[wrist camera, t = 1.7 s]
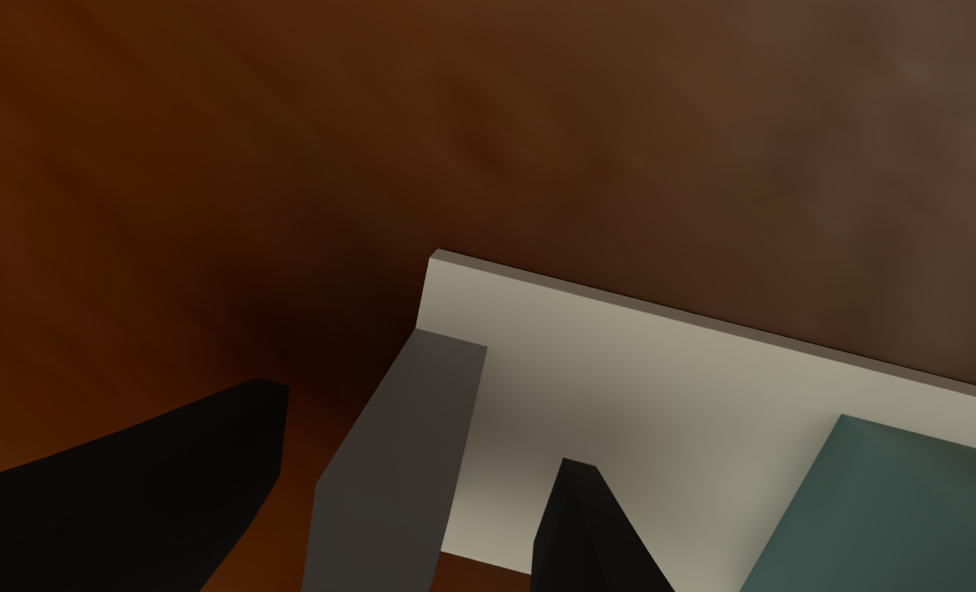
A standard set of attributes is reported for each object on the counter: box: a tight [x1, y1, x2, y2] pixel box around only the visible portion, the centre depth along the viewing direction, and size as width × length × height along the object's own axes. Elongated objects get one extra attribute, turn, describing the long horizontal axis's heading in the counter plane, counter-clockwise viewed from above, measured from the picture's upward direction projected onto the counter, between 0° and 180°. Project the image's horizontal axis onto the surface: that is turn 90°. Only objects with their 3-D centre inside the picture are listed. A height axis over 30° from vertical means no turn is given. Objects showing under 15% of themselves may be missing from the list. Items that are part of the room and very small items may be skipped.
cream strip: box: [301, 249, 976, 592], centre depth 8 cm, size 14×7×5 cm, turn 77°
